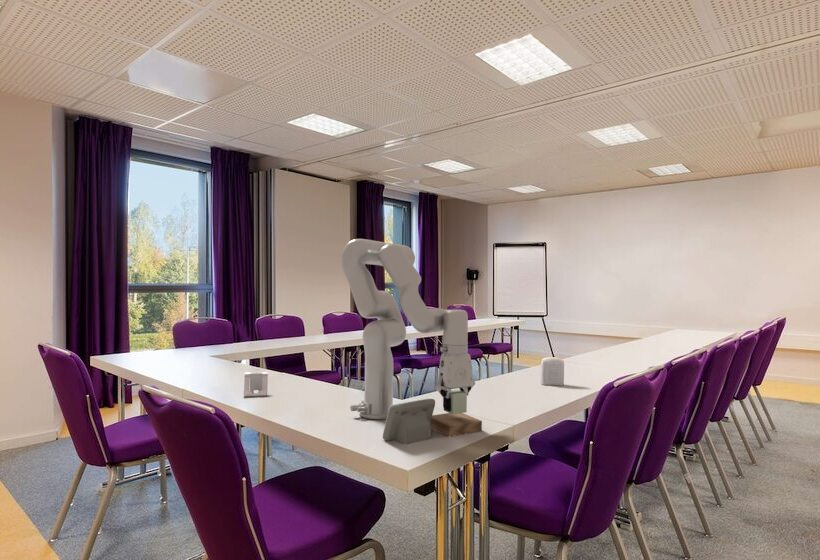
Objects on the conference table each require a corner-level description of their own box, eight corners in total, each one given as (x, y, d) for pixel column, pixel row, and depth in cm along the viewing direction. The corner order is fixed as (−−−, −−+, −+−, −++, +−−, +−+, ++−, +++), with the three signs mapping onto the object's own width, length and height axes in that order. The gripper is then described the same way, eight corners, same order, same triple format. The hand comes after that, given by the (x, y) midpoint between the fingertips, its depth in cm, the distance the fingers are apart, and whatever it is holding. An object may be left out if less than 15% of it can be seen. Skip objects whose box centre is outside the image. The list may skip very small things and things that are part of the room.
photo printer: (562, 384, 216) (562, 356, 217) (565, 386, 212) (565, 358, 212) (539, 383, 217) (539, 356, 217) (541, 385, 213) (542, 357, 213)
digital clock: (427, 430, 144) (428, 395, 144) (442, 439, 136) (442, 401, 136) (377, 437, 137) (378, 399, 137) (389, 446, 129) (390, 407, 129)
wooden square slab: (448, 436, 138) (449, 426, 138) (426, 425, 148) (427, 416, 148) (481, 431, 144) (481, 421, 144) (458, 420, 154) (458, 411, 154)
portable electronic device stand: (243, 397, 181) (244, 375, 181) (244, 393, 188) (245, 371, 188) (267, 396, 183) (267, 374, 183) (267, 392, 191) (267, 371, 191)
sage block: (453, 414, 143) (453, 394, 143) (443, 410, 147) (443, 391, 147) (466, 412, 145) (466, 392, 145) (456, 408, 149) (457, 389, 149)
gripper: (438, 353, 139) (438, 415, 138) (484, 349, 147) (484, 408, 147) (425, 350, 145) (424, 410, 145) (470, 347, 154) (469, 403, 154)
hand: (454, 408), depth 146 cm, fingers closed on sage block, 5 cm apart
